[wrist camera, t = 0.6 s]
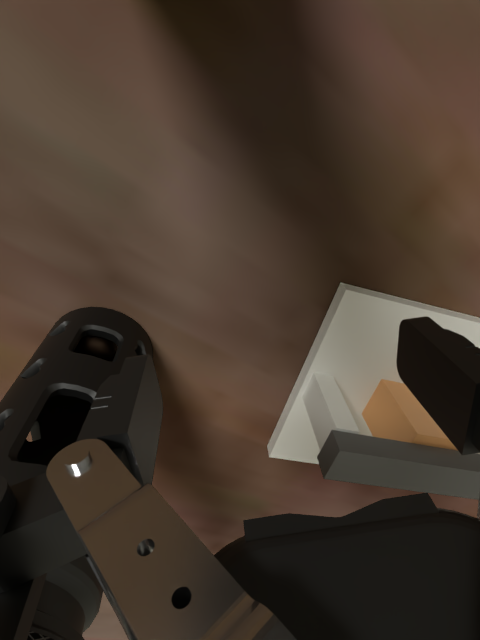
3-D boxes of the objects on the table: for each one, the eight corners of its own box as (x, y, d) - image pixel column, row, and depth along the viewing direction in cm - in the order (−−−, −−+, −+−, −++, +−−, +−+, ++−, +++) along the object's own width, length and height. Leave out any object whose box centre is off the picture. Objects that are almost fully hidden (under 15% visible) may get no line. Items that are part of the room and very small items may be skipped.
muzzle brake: (138, 408, 37) (169, 322, 33) (13, 974, 13) (65, 933, 8) (36, 385, 35) (54, 288, 31) (-352, 1020, 11) (-543, 998, 6)
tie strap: (331, 429, 28) (339, 450, 27) (533, 462, 32) (551, 483, 31) (316, 457, 30) (323, 478, 28) (511, 485, 34) (528, 506, 32)
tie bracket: (340, 282, 32) (380, 333, 25) (519, 327, 36) (600, 383, 29) (267, 446, 41) (280, 519, 34) (416, 468, 45) (458, 538, 38)
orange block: (381, 378, 36) (417, 433, 30) (448, 392, 37) (495, 447, 31) (361, 413, 38) (391, 472, 32) (425, 425, 40) (465, 482, 33)
